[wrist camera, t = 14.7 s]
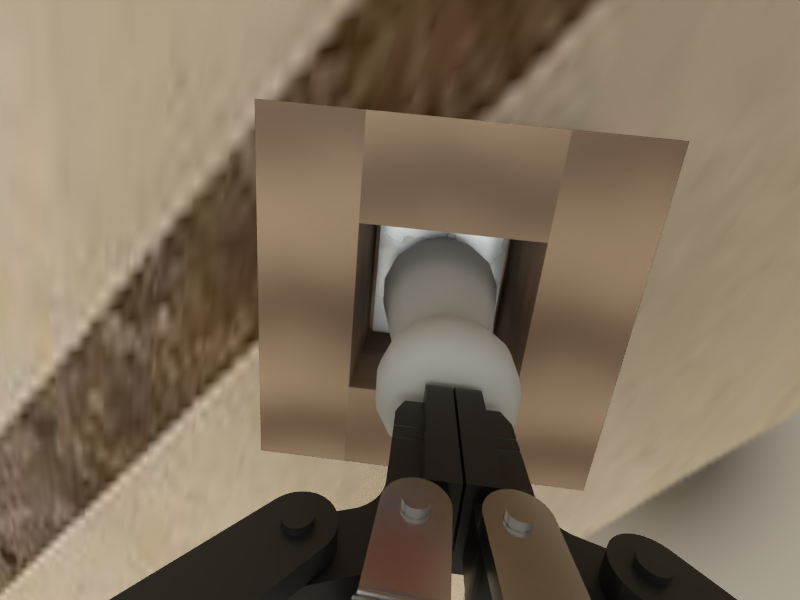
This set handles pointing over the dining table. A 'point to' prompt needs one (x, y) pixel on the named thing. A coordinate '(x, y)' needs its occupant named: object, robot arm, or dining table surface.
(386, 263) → the white marbled square plate
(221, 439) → the dining table surface
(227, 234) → the dining table surface
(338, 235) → the holder
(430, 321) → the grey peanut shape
